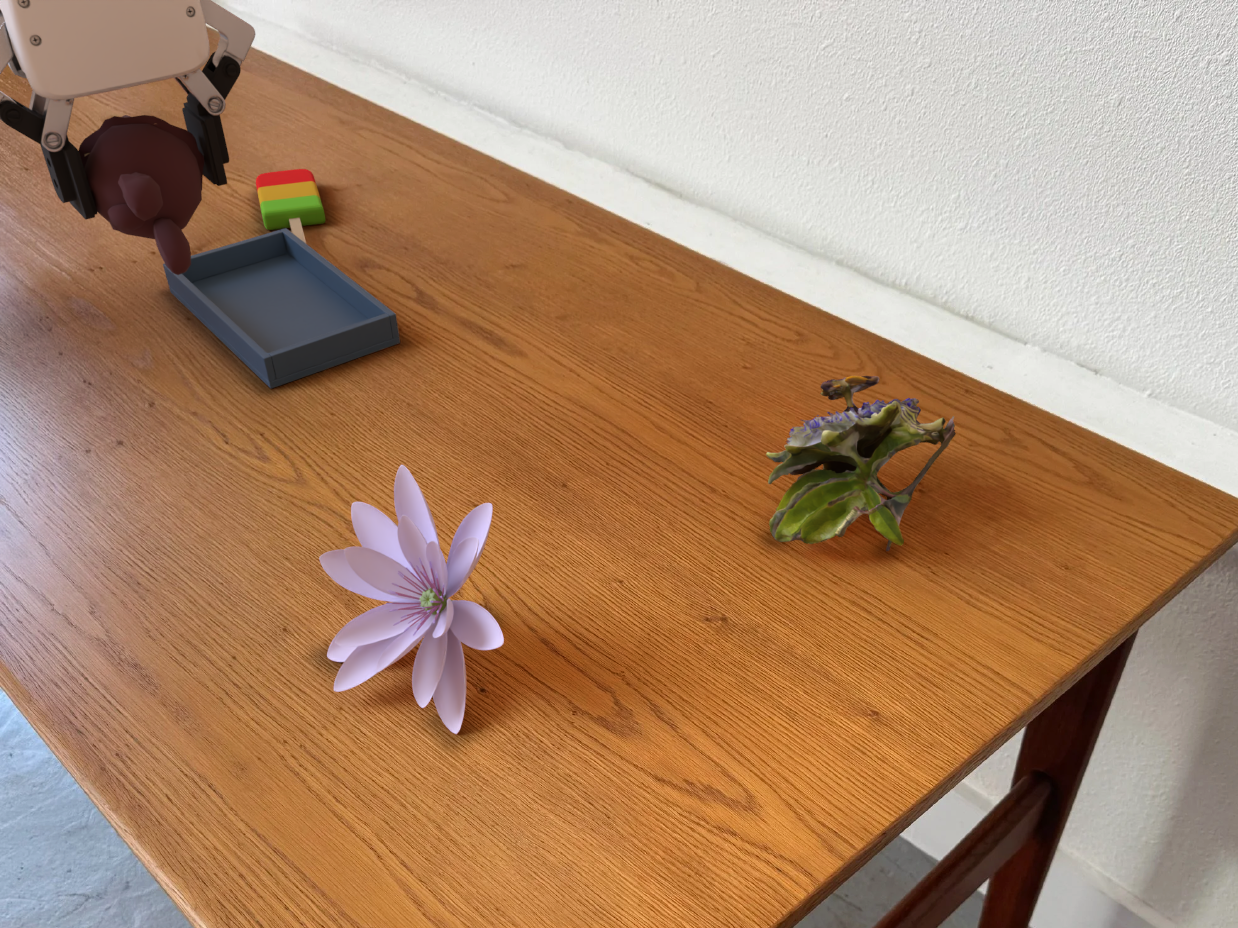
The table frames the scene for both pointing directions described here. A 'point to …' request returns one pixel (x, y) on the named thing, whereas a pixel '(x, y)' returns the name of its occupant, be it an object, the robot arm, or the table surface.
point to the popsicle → (289, 200)
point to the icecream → (146, 181)
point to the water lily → (412, 599)
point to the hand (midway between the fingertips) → (148, 191)
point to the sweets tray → (283, 307)
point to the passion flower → (850, 465)
